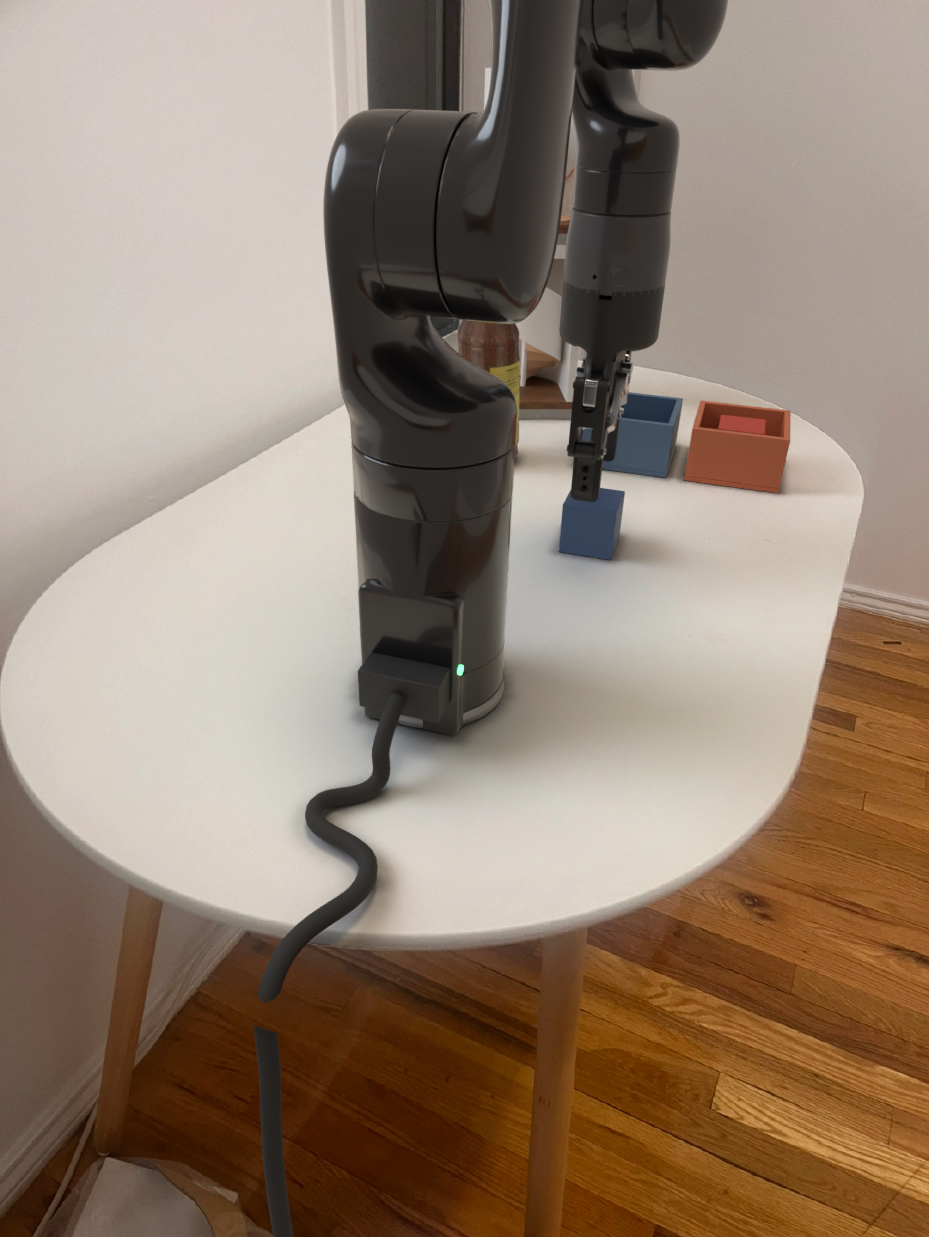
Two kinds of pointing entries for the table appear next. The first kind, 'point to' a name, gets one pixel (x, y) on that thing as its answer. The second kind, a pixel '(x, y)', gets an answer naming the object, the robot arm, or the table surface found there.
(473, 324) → the sauce bottle
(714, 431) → the red bin
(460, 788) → the table surface
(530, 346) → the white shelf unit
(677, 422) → the blue bin
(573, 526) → the blue block
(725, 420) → the red block
